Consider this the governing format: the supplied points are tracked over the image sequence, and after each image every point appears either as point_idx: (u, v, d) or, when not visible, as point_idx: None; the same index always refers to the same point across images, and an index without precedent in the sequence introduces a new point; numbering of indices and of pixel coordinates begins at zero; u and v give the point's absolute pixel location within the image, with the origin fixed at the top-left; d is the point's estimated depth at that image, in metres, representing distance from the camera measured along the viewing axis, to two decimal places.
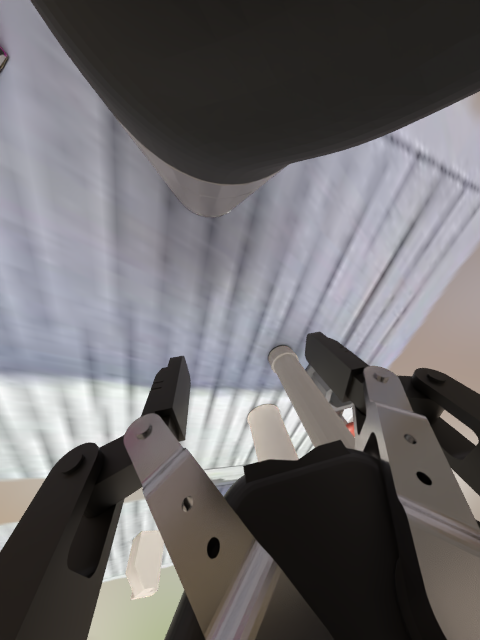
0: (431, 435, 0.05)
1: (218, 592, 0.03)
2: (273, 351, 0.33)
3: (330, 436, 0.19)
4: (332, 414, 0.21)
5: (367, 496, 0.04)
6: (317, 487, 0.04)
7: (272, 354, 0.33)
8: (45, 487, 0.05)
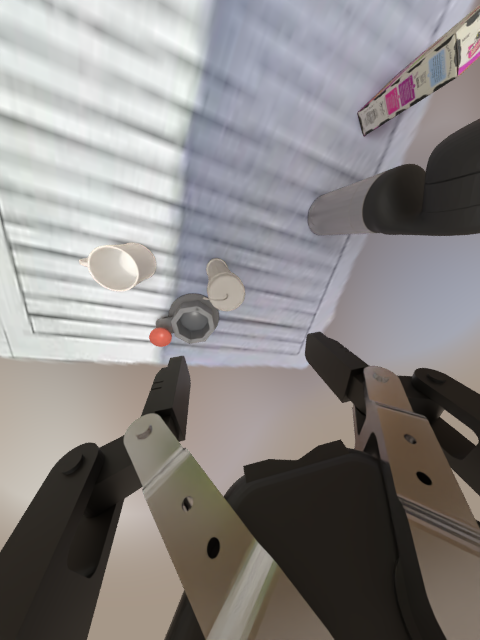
0: (431, 435, 0.05)
1: (218, 592, 0.03)
2: None
3: None
4: None
5: (367, 496, 0.04)
6: (317, 487, 0.04)
7: None
8: (45, 487, 0.05)
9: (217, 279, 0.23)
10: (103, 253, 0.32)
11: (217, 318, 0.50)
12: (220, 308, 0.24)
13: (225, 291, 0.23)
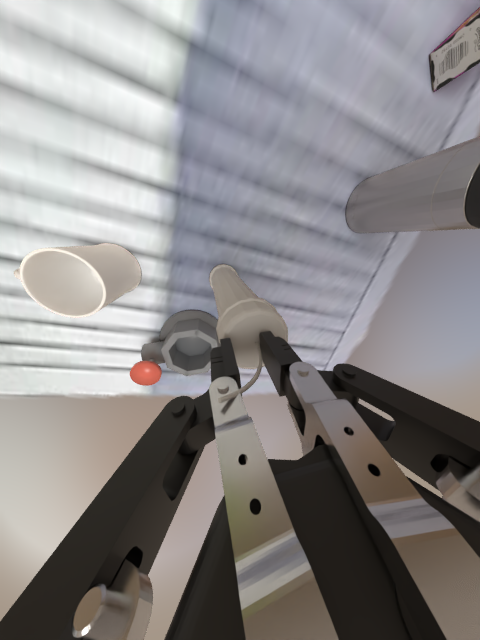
0: (356, 416, 0.05)
1: (251, 541, 0.03)
2: None
3: None
4: None
5: None
6: (317, 487, 0.04)
7: None
8: (161, 415, 0.06)
9: (239, 316, 0.11)
10: (52, 259, 0.21)
11: None
12: (242, 365, 0.13)
13: (253, 337, 0.12)
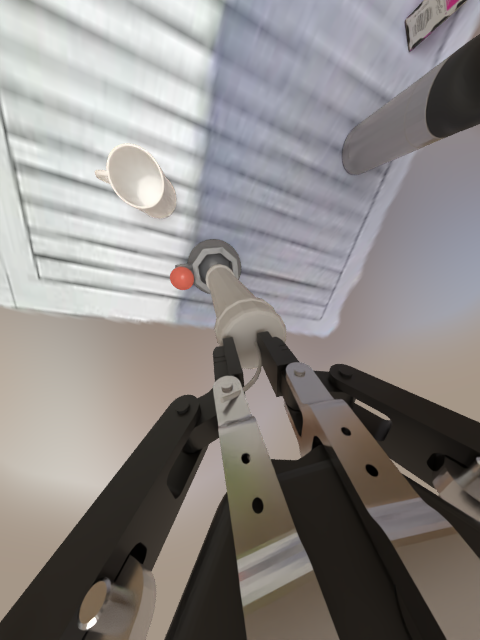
0: (353, 416, 0.05)
1: (253, 539, 0.03)
2: None
3: None
4: None
5: None
6: (317, 487, 0.04)
7: None
8: (166, 413, 0.07)
9: (238, 316, 0.11)
10: (123, 164, 0.28)
11: (239, 270, 0.46)
12: None
13: (252, 337, 0.12)
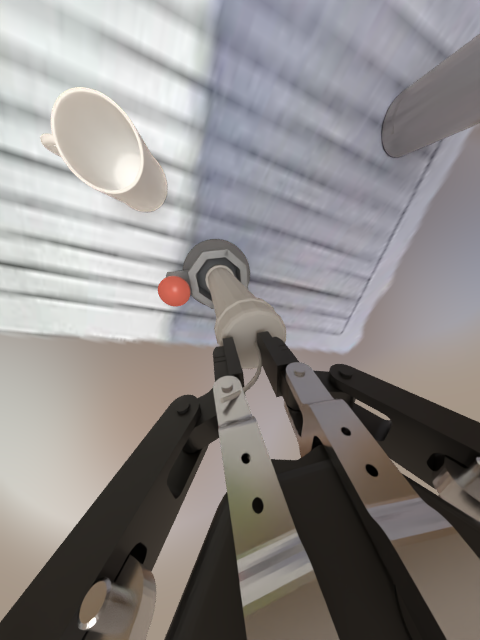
0: (352, 416, 0.05)
1: (253, 539, 0.03)
2: None
3: None
4: None
5: None
6: (317, 487, 0.04)
7: None
8: (166, 413, 0.07)
9: (238, 316, 0.11)
10: (83, 127, 0.19)
11: (247, 278, 0.37)
12: None
13: (252, 337, 0.12)
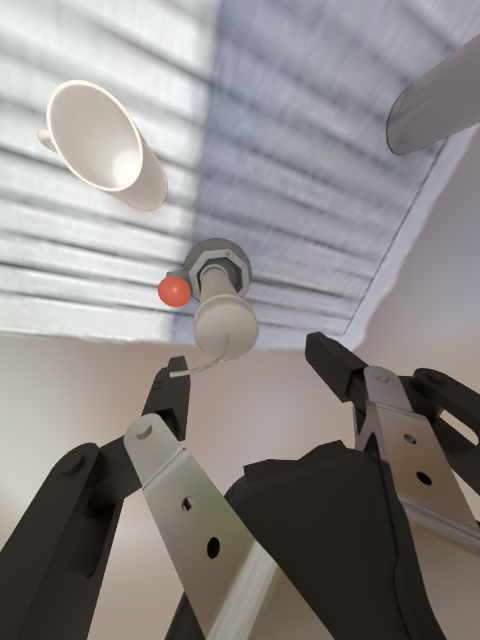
0: (431, 435, 0.05)
1: (218, 592, 0.03)
2: None
3: None
4: None
5: (367, 496, 0.04)
6: (317, 487, 0.04)
7: None
8: (45, 486, 0.05)
9: (211, 309, 0.12)
10: (80, 123, 0.18)
11: (249, 278, 0.36)
12: (214, 356, 0.14)
13: (224, 330, 0.13)
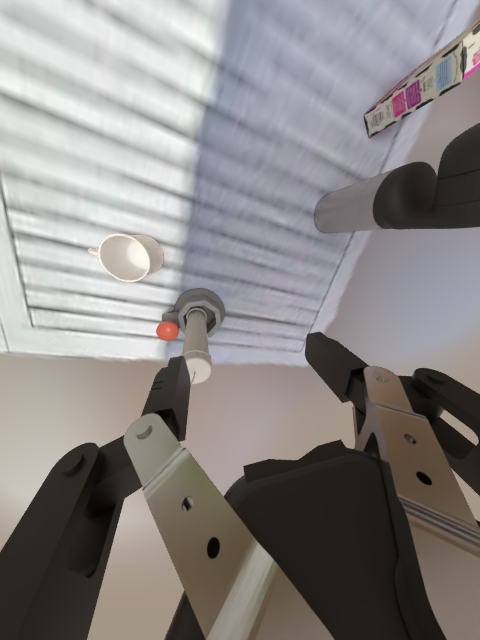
0: (431, 435, 0.05)
1: (218, 592, 0.03)
2: (203, 308, 0.47)
3: (206, 340, 0.33)
4: None
5: (367, 496, 0.04)
6: (317, 487, 0.04)
7: (201, 308, 0.47)
8: (45, 487, 0.05)
9: (186, 360, 0.26)
10: (113, 242, 0.31)
11: (223, 314, 0.50)
12: None
13: (193, 369, 0.26)
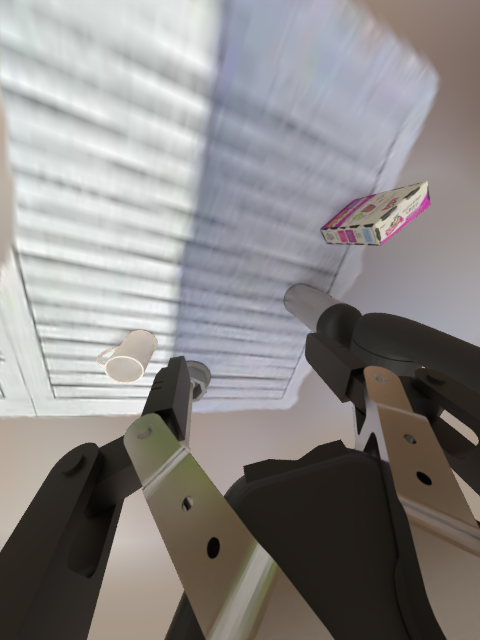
0: (431, 435, 0.05)
1: (218, 592, 0.03)
2: None
3: (188, 425, 0.42)
4: (190, 421, 0.45)
5: (367, 496, 0.04)
6: (317, 487, 0.04)
7: None
8: (45, 487, 0.05)
9: None
10: None
11: (209, 378, 0.59)
12: None
13: None
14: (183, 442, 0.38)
